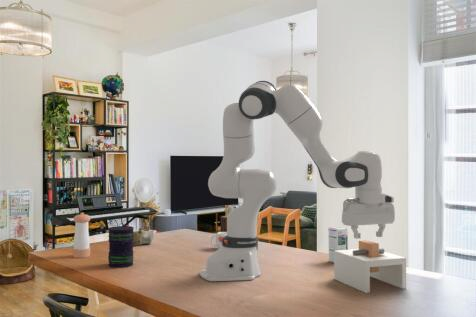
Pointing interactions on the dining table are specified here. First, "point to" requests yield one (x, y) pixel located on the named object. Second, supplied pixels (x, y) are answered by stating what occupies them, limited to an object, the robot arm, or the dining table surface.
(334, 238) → the syrup box
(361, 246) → the notched wooden block
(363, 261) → the shelf
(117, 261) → the storage jar
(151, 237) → the ceramic sculpture
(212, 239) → the mug
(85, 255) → the salt shaker
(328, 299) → the dining table surface
